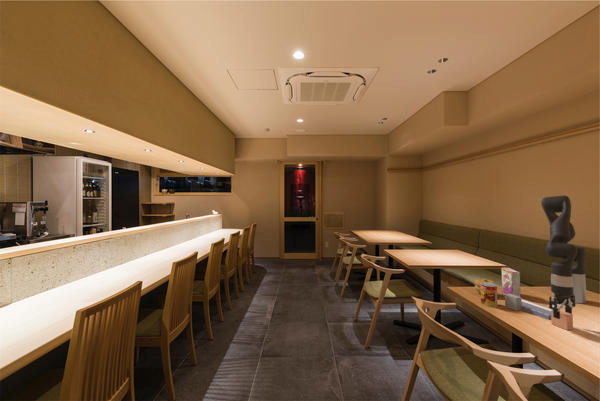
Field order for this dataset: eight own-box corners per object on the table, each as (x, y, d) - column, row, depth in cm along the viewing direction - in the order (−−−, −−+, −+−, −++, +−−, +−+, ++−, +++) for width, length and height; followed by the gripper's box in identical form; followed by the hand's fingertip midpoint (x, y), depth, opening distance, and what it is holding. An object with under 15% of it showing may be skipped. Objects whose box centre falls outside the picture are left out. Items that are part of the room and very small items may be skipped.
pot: (477, 295, 159) (477, 280, 159) (472, 289, 170) (472, 275, 170) (499, 298, 155) (499, 282, 155) (493, 291, 165) (492, 277, 165)
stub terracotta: (557, 322, 123) (556, 309, 123) (573, 328, 117) (572, 314, 117) (551, 324, 122) (551, 310, 122) (567, 330, 116) (566, 315, 116)
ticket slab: (521, 301, 149) (521, 298, 149) (564, 316, 129) (564, 312, 129) (506, 304, 146) (506, 300, 146) (548, 319, 126) (548, 315, 126)
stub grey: (510, 305, 144) (509, 293, 144) (521, 309, 138) (521, 297, 138) (505, 306, 143) (504, 294, 143) (516, 310, 137) (516, 298, 137)
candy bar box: (501, 291, 166) (500, 267, 166) (509, 291, 165) (509, 267, 165) (512, 297, 155) (511, 272, 155) (521, 298, 154) (520, 272, 154)
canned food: (480, 300, 152) (479, 281, 152) (496, 303, 148) (495, 283, 148) (481, 305, 145) (481, 285, 145) (498, 308, 141) (498, 287, 141)
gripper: (561, 279, 125) (562, 311, 125) (542, 283, 121) (543, 315, 121) (582, 284, 117) (582, 318, 117) (561, 288, 114) (562, 322, 114)
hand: (562, 316), depth 119 cm, fingers open, 8 cm apart
